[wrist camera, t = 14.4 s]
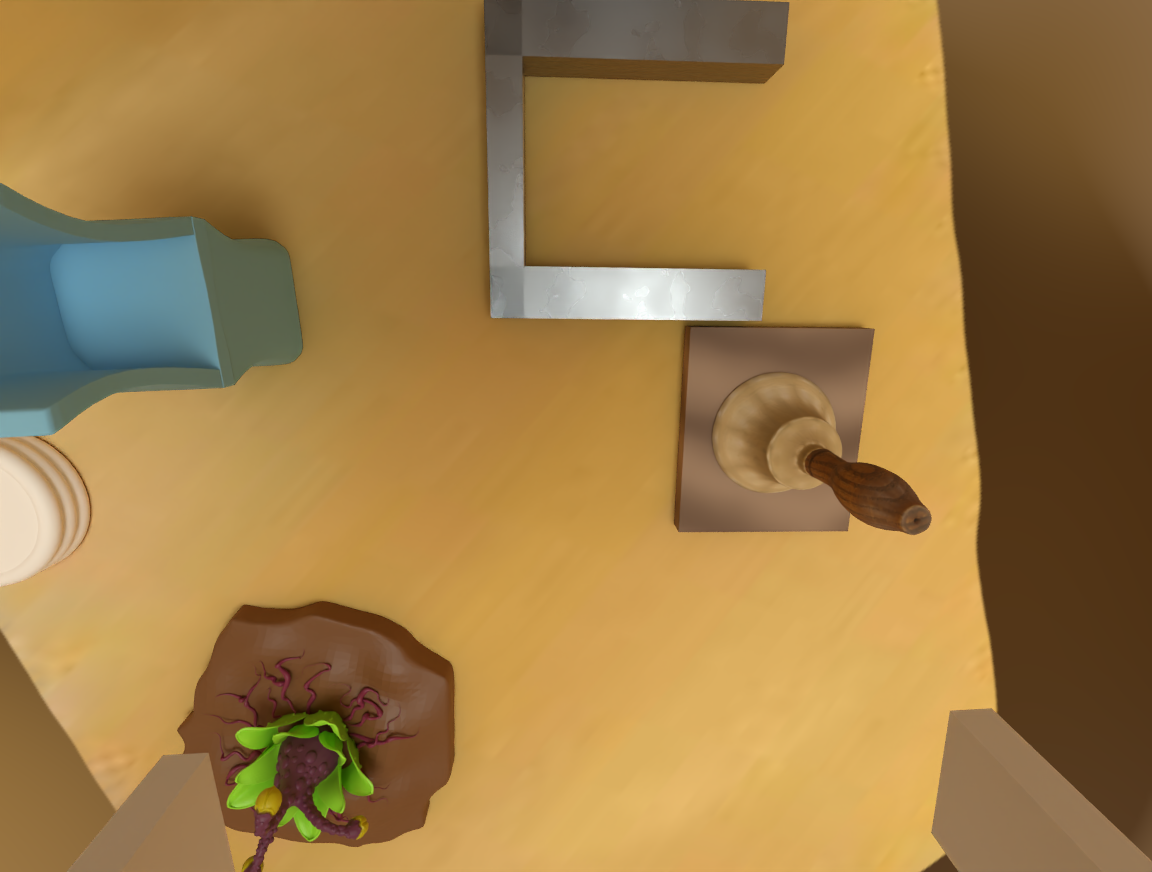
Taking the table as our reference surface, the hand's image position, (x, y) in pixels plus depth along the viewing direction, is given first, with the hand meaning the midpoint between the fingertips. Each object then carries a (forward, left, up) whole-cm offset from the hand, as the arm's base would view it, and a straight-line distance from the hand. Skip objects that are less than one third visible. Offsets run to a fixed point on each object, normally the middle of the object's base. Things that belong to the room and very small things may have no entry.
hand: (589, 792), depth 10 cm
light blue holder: (-8, -21, -30) cm, 38 cm away
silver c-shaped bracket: (-16, +4, -30) cm, 34 cm away
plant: (+23, -18, -31) cm, 42 cm away
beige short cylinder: (+5, -37, -31) cm, 48 cm away
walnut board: (0, +14, -30) cm, 33 cm away
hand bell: (0, +14, -29) cm, 32 cm away
